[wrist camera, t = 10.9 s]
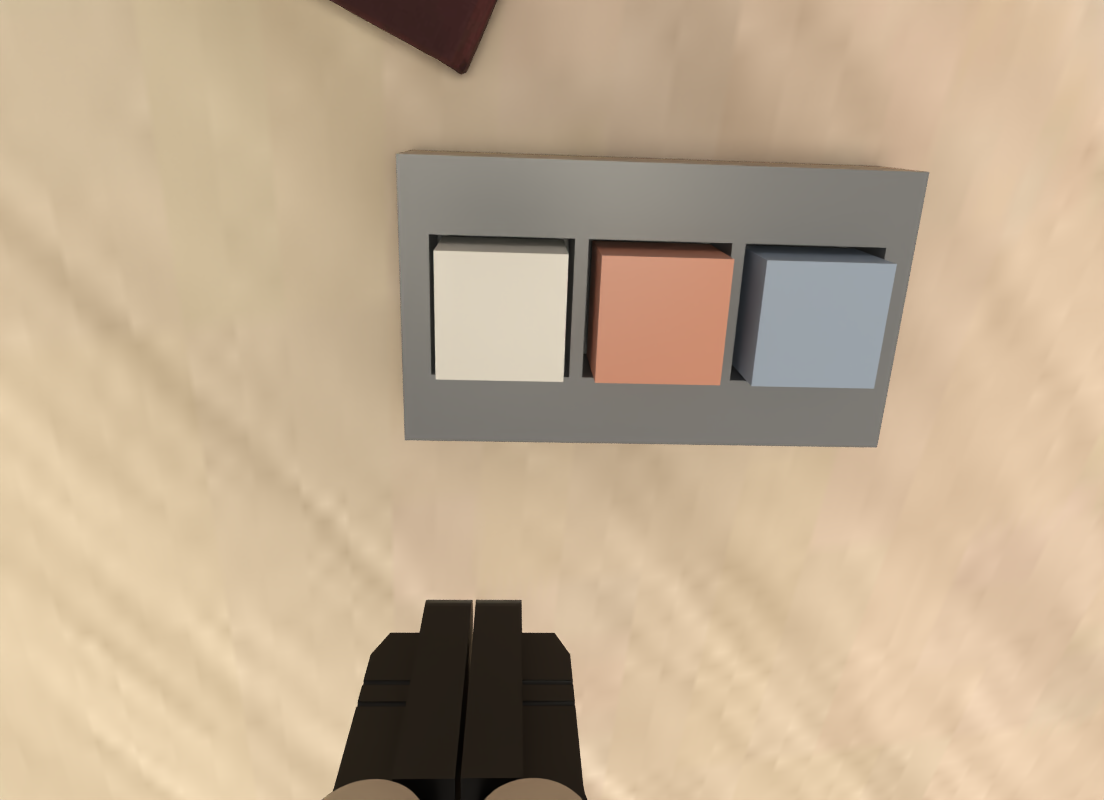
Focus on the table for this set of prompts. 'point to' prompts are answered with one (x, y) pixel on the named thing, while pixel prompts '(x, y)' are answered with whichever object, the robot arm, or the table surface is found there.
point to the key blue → (811, 316)
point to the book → (430, 25)
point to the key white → (500, 309)
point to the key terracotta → (658, 312)
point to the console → (643, 216)
